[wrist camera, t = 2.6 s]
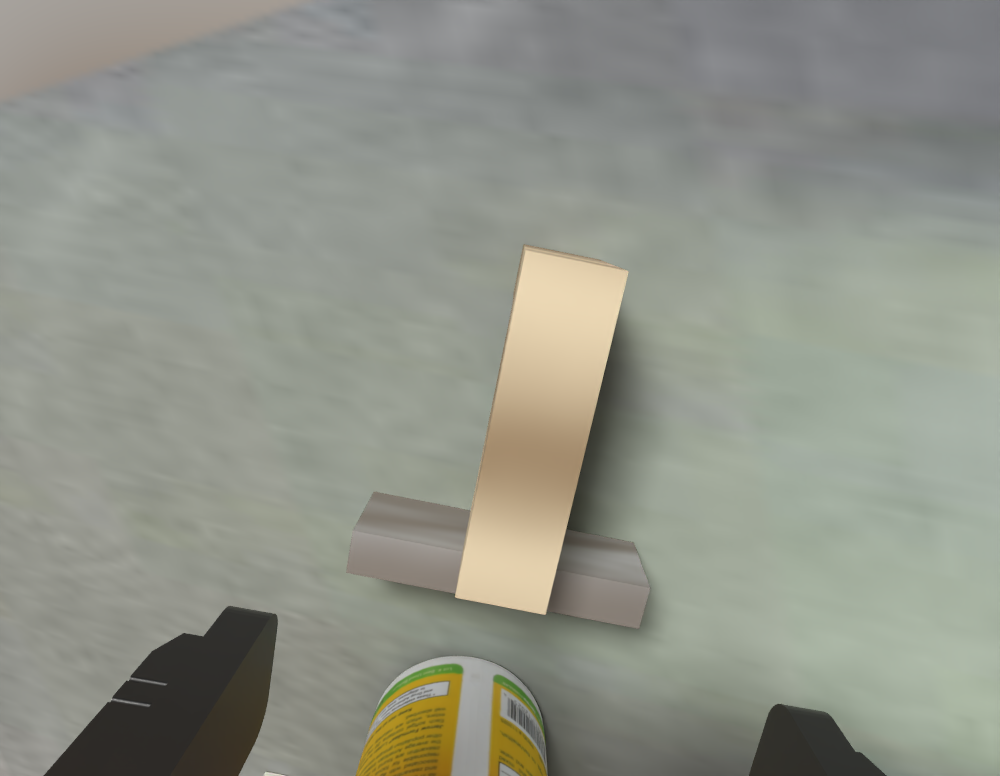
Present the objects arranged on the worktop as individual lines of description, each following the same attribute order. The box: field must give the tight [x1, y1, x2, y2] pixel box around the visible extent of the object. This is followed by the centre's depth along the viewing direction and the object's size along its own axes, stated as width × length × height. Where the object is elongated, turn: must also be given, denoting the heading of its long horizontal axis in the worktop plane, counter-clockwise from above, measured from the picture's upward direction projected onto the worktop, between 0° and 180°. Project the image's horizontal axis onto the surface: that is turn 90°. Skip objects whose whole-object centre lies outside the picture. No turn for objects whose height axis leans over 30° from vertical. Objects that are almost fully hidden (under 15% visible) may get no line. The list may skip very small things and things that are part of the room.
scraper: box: [346, 245, 650, 629], centre depth 19 cm, size 10×9×6 cm
